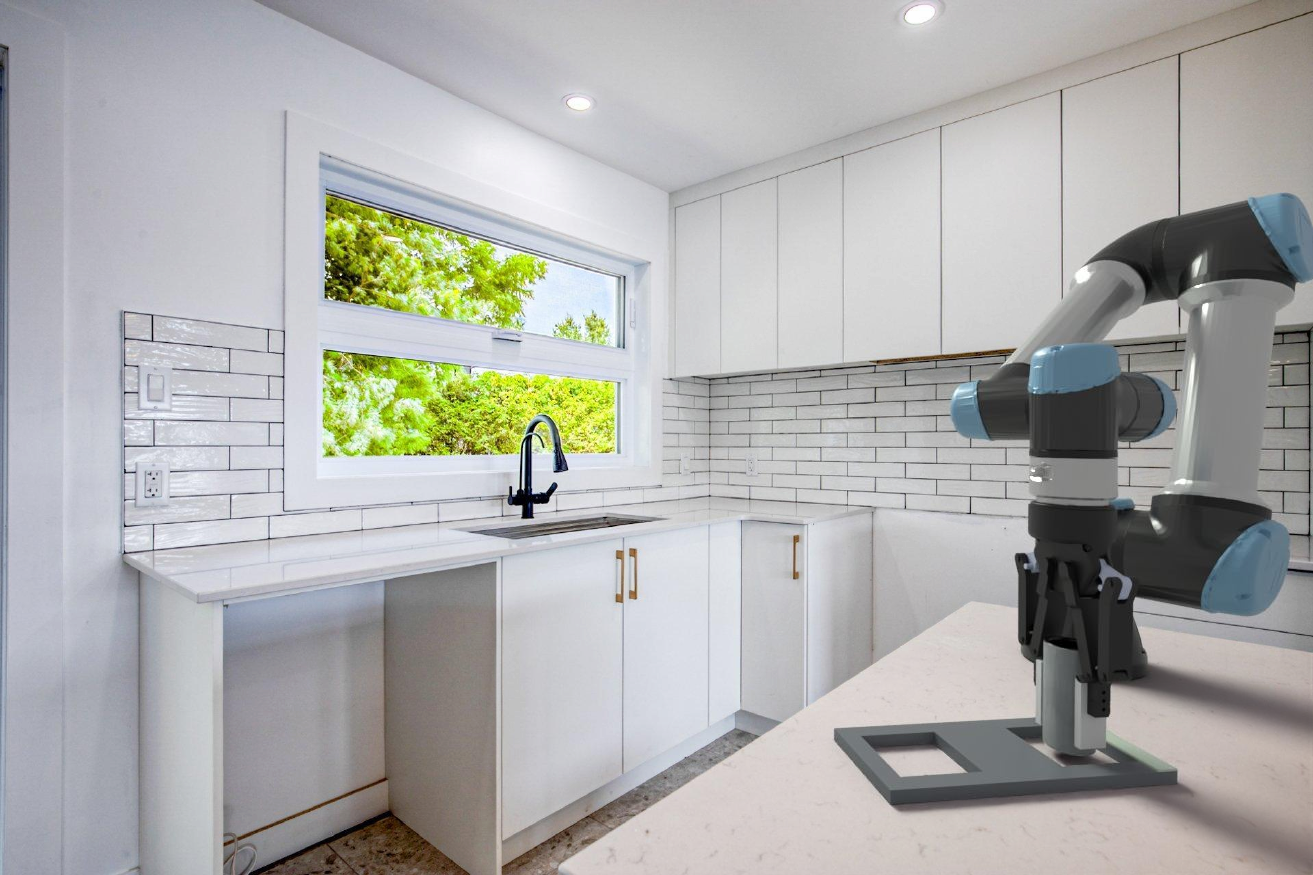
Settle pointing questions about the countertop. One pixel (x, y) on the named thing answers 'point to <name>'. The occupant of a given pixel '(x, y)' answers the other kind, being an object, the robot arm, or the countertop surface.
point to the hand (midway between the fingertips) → (1069, 733)
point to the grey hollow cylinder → (1060, 694)
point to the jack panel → (994, 761)
